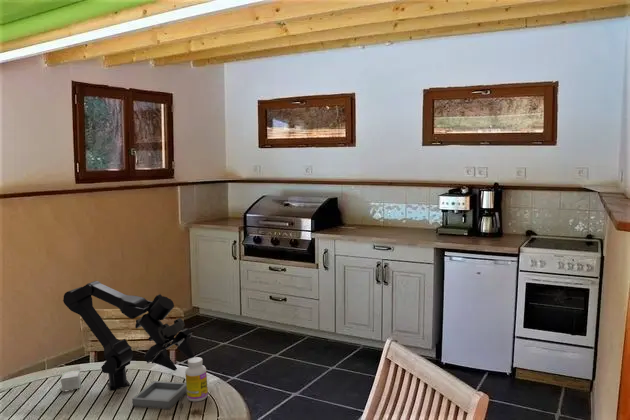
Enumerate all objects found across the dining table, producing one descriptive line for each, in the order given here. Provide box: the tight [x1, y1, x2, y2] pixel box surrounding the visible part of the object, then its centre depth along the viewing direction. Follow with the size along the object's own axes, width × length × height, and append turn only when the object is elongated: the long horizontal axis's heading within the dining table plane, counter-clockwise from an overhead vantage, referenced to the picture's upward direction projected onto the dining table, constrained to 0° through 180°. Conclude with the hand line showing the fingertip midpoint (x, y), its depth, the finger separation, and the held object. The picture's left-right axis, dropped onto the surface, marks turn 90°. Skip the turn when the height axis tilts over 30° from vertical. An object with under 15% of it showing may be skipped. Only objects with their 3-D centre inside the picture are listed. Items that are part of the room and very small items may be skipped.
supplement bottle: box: [184, 356, 209, 402], centre depth 171 cm, size 7×7×13 cm
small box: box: [60, 369, 82, 392], centre depth 184 cm, size 6×6×5 cm
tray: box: [131, 380, 187, 410], centre depth 172 cm, size 13×13×2 cm
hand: (185, 364), depth 172 cm, fingers open, 9 cm apart
